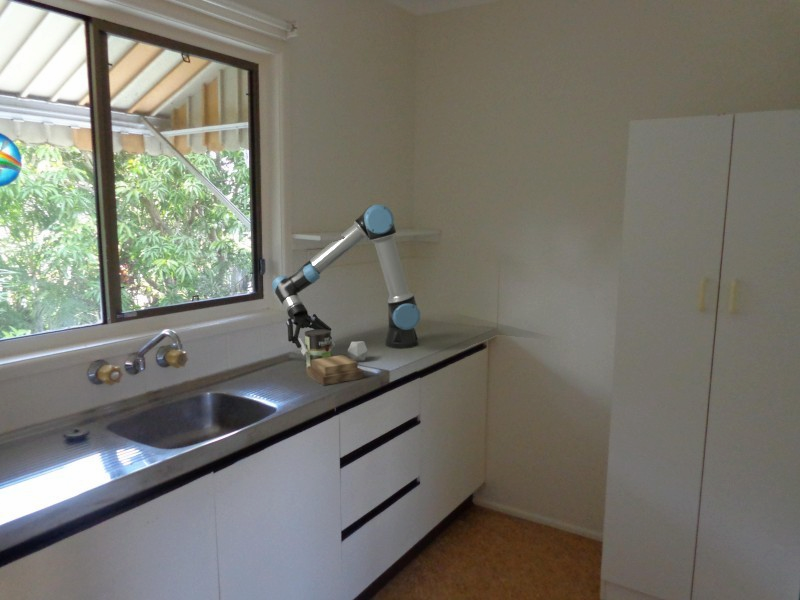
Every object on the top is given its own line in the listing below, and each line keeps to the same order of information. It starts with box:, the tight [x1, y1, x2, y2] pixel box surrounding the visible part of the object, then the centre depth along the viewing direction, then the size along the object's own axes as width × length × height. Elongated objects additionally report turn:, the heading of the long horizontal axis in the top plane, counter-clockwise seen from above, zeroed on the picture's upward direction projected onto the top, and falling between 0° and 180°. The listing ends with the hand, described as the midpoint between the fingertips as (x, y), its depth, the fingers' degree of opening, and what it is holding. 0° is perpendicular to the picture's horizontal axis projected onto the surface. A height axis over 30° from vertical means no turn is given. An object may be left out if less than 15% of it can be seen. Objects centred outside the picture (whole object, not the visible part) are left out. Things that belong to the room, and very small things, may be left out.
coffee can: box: [304, 329, 332, 368], centre depth 233 cm, size 10×10×14 cm
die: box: [347, 340, 369, 362], centre depth 241 cm, size 8×9×10 cm
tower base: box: [305, 354, 364, 386], centre depth 218 cm, size 16×16×6 cm
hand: (319, 350), depth 232 cm, fingers open, 13 cm apart
